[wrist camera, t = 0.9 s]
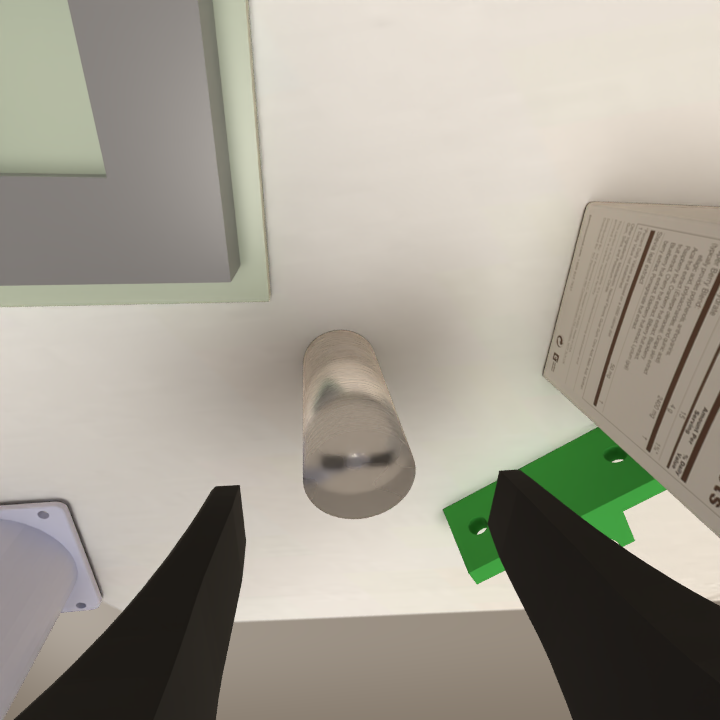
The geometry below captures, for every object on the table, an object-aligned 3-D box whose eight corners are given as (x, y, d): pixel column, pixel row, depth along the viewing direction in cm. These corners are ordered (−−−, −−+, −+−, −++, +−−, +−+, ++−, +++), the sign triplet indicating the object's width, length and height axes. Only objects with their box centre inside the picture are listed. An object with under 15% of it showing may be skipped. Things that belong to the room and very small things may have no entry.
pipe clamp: (466, 540, 27) (494, 609, 23) (441, 506, 25) (467, 573, 21) (629, 458, 25) (691, 516, 21) (613, 416, 24) (677, 470, 20)
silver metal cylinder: (304, 397, 21) (305, 523, 14) (301, 330, 19) (300, 433, 12) (374, 393, 21) (411, 514, 14) (376, 328, 20) (419, 426, 12)
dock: (-89, 301, 17) (-180, 334, 13) (-365, -296, 10) (-664, -500, 7) (270, 294, 18) (264, 322, 15) (230, -223, 12) (204, -361, 9)
